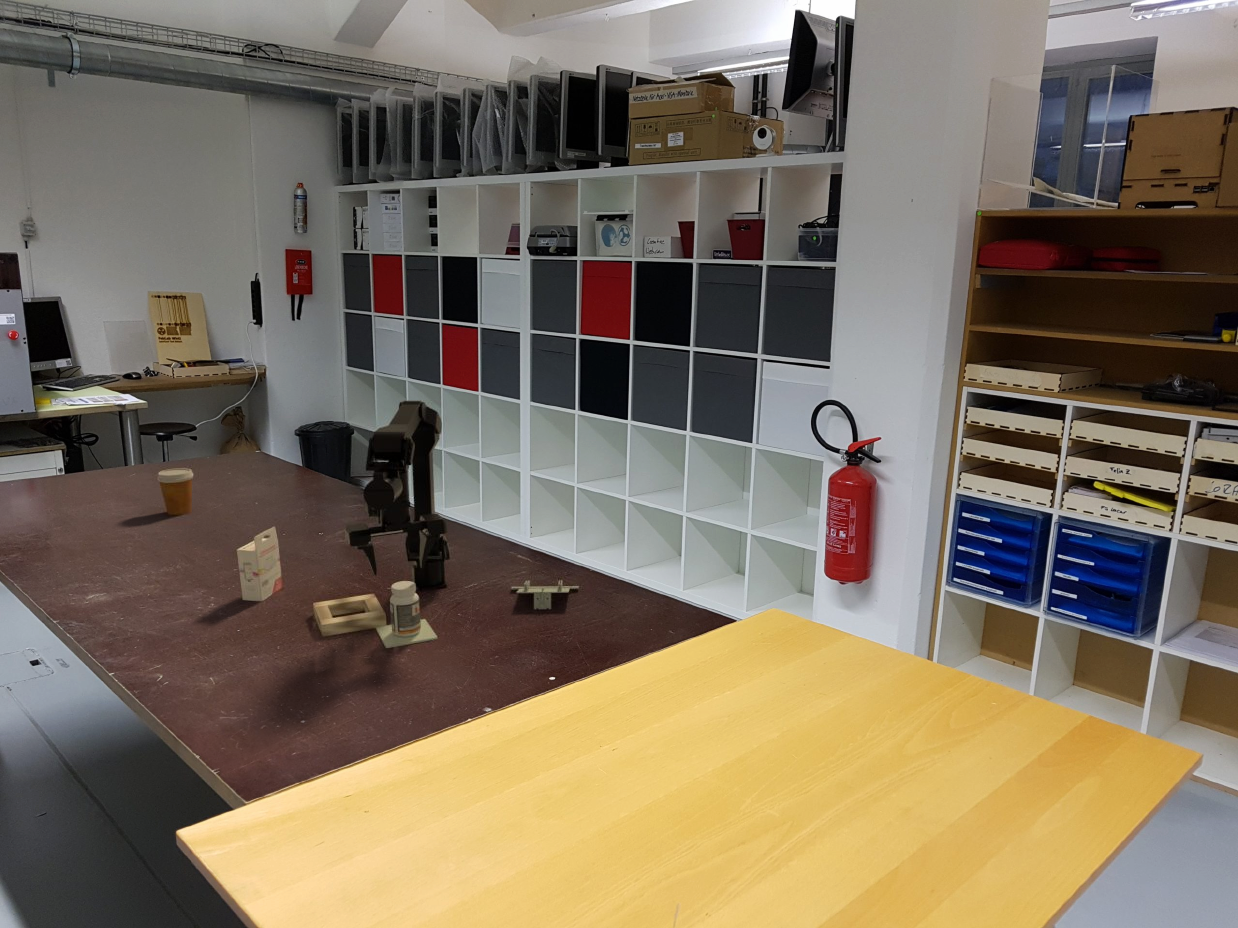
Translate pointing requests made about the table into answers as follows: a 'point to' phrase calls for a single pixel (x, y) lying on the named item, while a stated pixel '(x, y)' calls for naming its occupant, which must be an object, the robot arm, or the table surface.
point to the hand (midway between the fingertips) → (398, 570)
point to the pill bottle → (404, 609)
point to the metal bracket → (543, 593)
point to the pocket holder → (352, 622)
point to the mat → (393, 640)
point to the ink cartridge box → (260, 567)
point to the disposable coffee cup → (176, 490)
